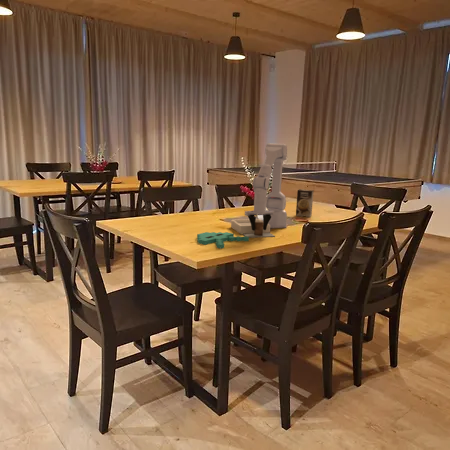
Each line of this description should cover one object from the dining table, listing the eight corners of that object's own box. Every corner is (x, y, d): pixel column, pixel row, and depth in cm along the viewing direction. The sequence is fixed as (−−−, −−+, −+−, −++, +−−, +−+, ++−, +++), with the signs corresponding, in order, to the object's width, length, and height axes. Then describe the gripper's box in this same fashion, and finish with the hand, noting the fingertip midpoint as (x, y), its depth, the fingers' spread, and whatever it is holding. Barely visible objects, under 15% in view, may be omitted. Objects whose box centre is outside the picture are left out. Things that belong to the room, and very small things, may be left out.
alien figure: (248, 241, 189) (215, 234, 201) (248, 237, 188) (215, 229, 201) (220, 249, 174) (187, 241, 186) (221, 244, 173) (187, 236, 185)
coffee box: (295, 216, 253) (297, 189, 250) (297, 214, 259) (299, 188, 255) (310, 217, 250) (312, 191, 246) (311, 215, 256) (313, 189, 252)
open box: (258, 226, 220) (259, 218, 219) (269, 232, 205) (270, 225, 204) (231, 227, 216) (231, 219, 215) (240, 234, 201) (240, 226, 200)
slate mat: (269, 233, 204) (269, 232, 204) (274, 236, 197) (274, 235, 197) (242, 234, 200) (242, 233, 200) (247, 237, 194) (247, 237, 193)
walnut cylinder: (260, 233, 201) (261, 221, 200) (263, 235, 198) (264, 223, 196) (253, 233, 200) (253, 221, 199) (256, 235, 196) (256, 223, 195)
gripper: (248, 203, 190) (247, 232, 192) (277, 203, 194) (276, 231, 196) (243, 201, 196) (242, 229, 199) (271, 200, 200) (270, 228, 203)
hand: (258, 229), depth 198 cm, fingers open, 5 cm apart
